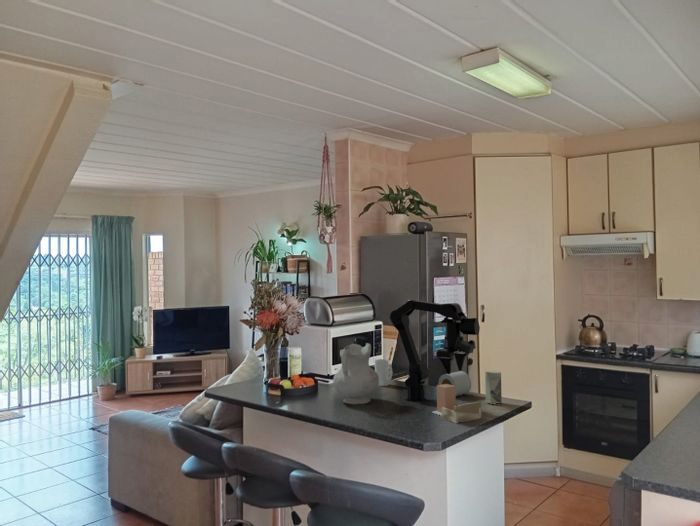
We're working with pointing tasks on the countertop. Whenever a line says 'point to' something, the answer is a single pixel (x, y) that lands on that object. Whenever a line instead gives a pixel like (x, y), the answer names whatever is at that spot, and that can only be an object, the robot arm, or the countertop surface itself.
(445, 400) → the brown rectangular block
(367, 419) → the countertop surface
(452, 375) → the toilet paper
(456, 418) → the cubby
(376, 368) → the mug
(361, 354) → the ceramic pitcher
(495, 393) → the box
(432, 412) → the mat
